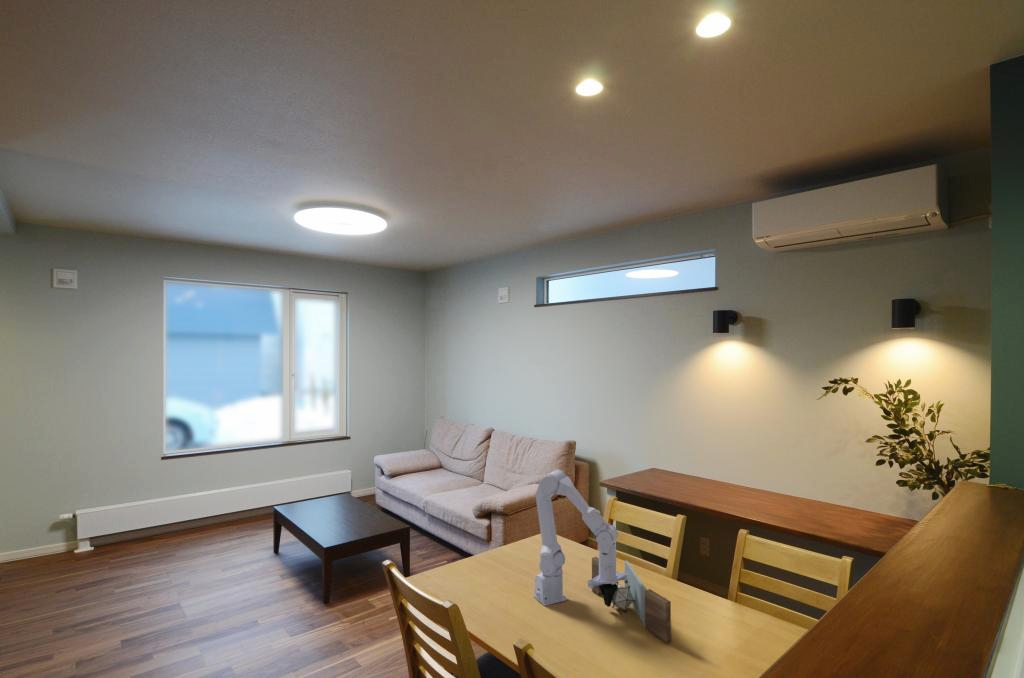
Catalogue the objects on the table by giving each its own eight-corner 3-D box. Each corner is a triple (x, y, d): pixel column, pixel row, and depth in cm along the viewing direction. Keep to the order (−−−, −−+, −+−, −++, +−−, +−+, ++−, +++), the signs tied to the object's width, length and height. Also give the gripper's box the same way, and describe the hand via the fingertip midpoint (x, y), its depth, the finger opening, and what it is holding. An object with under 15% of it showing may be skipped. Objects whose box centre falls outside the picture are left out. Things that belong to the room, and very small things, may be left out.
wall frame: (665, 644, 150) (665, 602, 151) (592, 591, 184) (591, 557, 184) (671, 642, 151) (670, 601, 151) (596, 590, 185) (596, 556, 185)
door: (642, 627, 159) (642, 591, 159) (622, 591, 183) (622, 560, 183) (648, 627, 159) (648, 591, 160) (627, 591, 183) (627, 560, 183)
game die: (620, 623, 169) (609, 604, 165) (609, 603, 177) (599, 584, 173) (643, 609, 170) (633, 590, 166) (631, 589, 177) (622, 571, 174)
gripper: (596, 572, 163) (596, 615, 163) (632, 564, 170) (632, 605, 169) (584, 564, 170) (584, 605, 169) (619, 557, 176) (619, 596, 176)
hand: (607, 605), depth 170 cm, fingers closed
